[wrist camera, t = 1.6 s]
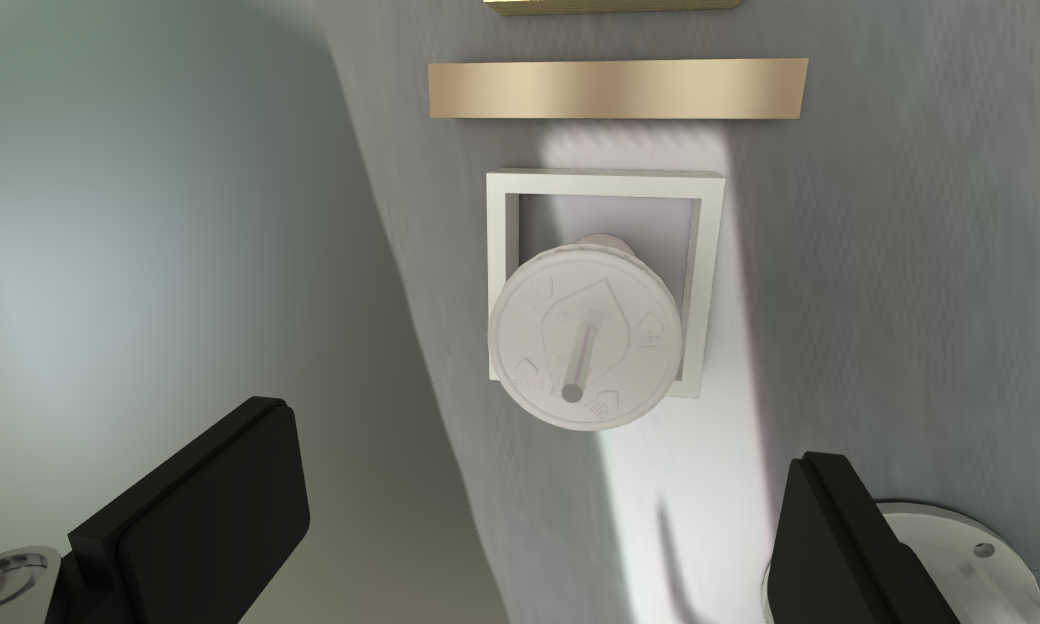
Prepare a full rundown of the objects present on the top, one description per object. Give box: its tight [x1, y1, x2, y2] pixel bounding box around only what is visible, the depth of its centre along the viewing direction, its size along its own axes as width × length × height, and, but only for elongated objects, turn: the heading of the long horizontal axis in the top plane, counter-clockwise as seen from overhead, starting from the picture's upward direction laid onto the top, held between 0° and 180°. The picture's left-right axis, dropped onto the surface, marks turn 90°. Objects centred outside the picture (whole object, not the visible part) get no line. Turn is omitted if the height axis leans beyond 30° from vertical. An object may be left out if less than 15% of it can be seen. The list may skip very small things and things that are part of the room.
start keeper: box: [487, 168, 726, 399], centre depth 25 cm, size 10×10×3 cm
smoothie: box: [488, 234, 682, 431], centre depth 20 cm, size 6×6×14 cm
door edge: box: [428, 58, 809, 119], centre depth 23 cm, size 14×2×4 cm, turn 90°
